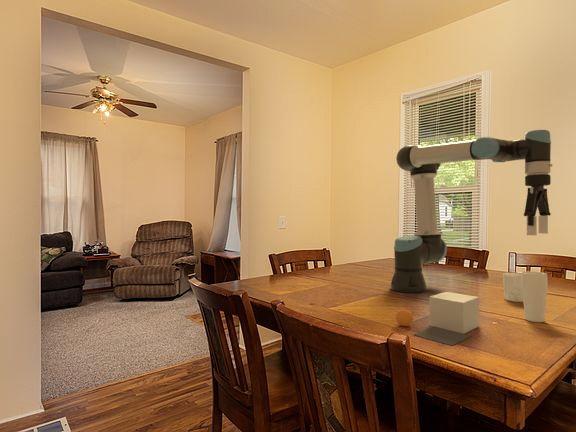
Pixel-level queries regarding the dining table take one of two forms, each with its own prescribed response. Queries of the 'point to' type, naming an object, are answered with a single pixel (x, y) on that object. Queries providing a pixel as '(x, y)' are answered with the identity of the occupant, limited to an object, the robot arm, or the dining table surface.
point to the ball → (404, 317)
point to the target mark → (443, 335)
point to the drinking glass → (534, 295)
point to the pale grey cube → (454, 311)
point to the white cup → (513, 287)
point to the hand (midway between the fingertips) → (537, 234)
